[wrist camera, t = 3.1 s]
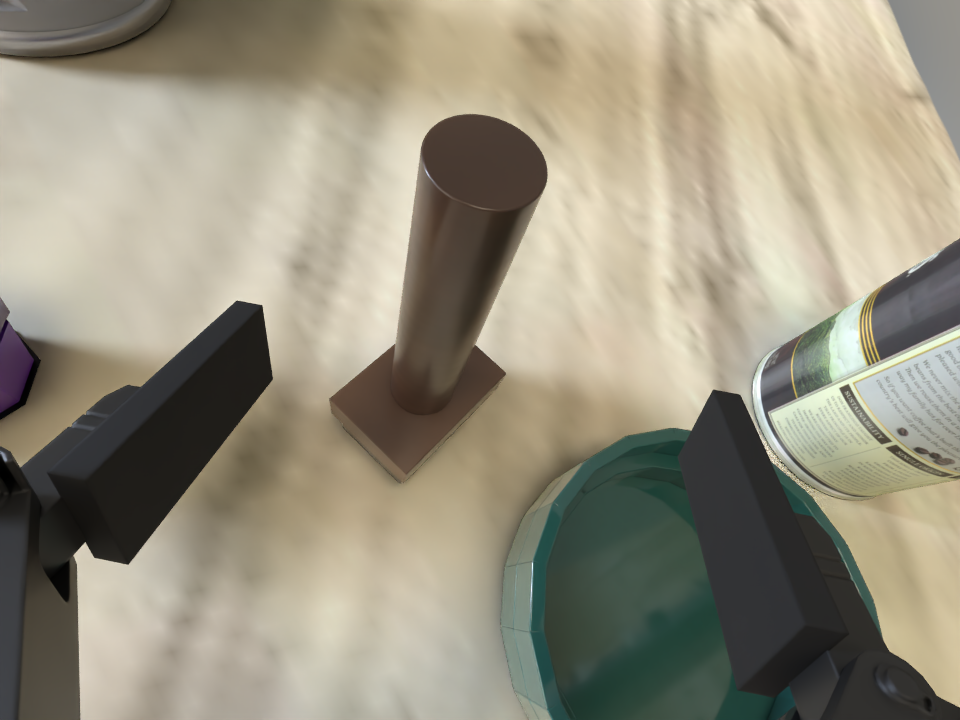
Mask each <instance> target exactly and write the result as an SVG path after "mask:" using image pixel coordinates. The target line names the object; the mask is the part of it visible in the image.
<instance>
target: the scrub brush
mask: <svg viewBox="0 0 960 720" xmlns="http://www.w3.org/2000/svg"><path fill="white" fill-rule="evenodd" d="M546 183H547V166H546V161H545V159H544V156H543V154H542V152H541V151H540V149H539V148H538V146H537V145H536V144H535V142H534V141H533V140H532V139H531V138H530V137H529V136H528V135H526V134H525V133H524V132H523V131H521V130H520V129H518V128H517V127H515V126H513V125H511V124H509V123H507V122H505V121H503V120H500V119H497V118H494V117H490V116H485V115H477V114H464V115H457V116H453V117H450V118H447V119H444V120H442V121H440V122H439V123H437V124H436V125H435V126H433V127H432V128H431V129H430V131H429V132H428V133H427V135H426V136H425V138H424V140H423V143H422V147H421V153H420V161H419V169H418V176H417V184H416V192H415V199H414V207H413V215H412V222H411V230H410V238H409V245H408V253H407V260H406V268H405V276H404V283H403V291H402V299H401V306H400V314H399V322H398V329H397V337H396V344H394V345H393V346H392V347H391V348H390V349H388V350H387V351H386V352H385V353H384V354H382V355H381V356H380V357H379V358H378V359H376V360H375V361H374V362H373V363H372V364H370V365H369V366H368V367H367V368H366V369H364V370H363V371H362V372H361V373H360V374H359V375H357V376H356V377H355V378H354V379H353V380H351V381H350V382H349V383H348V384H347V385H345V386H344V387H343V388H342V389H341V390H339V391H338V392H337V393H336V394H335V395H333V396H332V397H331V398H330V399H329V400H330V406H331V412H332V414H333V415H334V416H335V417H336V418H337V419H338V420H339V421H340V422H341V423H342V424H343V428H344V429H345V430H346V431H347V432H348V433H349V434H350V435H351V436H352V437H353V438H354V439H355V440H356V441H357V442H358V443H359V444H360V445H361V446H362V447H363V448H364V449H365V450H366V451H367V452H368V453H369V454H370V455H371V456H372V457H373V458H374V459H375V460H376V461H377V462H378V463H379V464H380V465H381V466H383V467H384V468H385V469H386V470H387V471H388V472H389V473H390V474H391V475H392V476H393V477H394V478H395V479H396V480H397V481H398V482H399V483H401V482H402V483H404V482H405V481H406V480H407V479H408V478H409V477H410V476H411V475H412V474H413V473H414V472H415V471H416V470H417V469H418V468H419V467H420V466H421V465H422V464H423V463H424V462H425V461H426V460H427V459H428V458H429V457H430V456H431V455H432V454H433V453H434V452H435V451H436V450H437V449H438V448H439V447H440V446H441V445H442V444H443V443H444V442H445V441H446V440H447V439H448V438H449V436H450V435H451V434H452V433H453V432H454V431H455V430H456V429H457V428H458V427H459V426H460V425H461V424H462V423H463V422H464V421H465V420H466V419H467V418H468V417H469V416H470V415H471V414H472V413H473V412H474V411H475V410H476V409H477V408H478V407H479V406H480V405H481V404H482V403H483V402H484V401H485V400H486V399H487V398H488V397H489V396H490V395H491V394H492V393H493V392H494V391H495V390H496V389H497V388H498V386H499V384H500V383H501V381H502V380H503V378H504V377H505V375H506V372H504V371H503V370H502V369H501V368H500V367H499V366H498V365H497V364H496V363H494V362H493V361H492V360H491V359H490V358H489V357H488V356H487V355H486V354H485V353H483V352H482V351H481V350H480V349H479V348H478V347H477V346H476V345H475V344H476V341H477V339H478V337H479V335H480V332H481V330H482V328H483V326H484V323H485V321H486V319H487V317H488V314H489V312H490V310H491V308H492V305H493V303H494V301H495V299H496V296H497V294H498V292H499V290H500V287H501V285H502V283H503V281H504V279H505V276H506V274H507V272H508V270H509V267H510V265H511V263H512V261H513V258H514V256H515V254H516V252H517V249H518V247H519V245H520V243H521V240H522V238H523V236H524V234H525V231H526V229H527V227H528V225H529V222H530V220H531V218H532V216H533V213H534V211H535V209H536V207H537V204H538V202H539V200H540V198H541V195H542V193H543V191H544V189H545V186H546Z"/></svg>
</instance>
